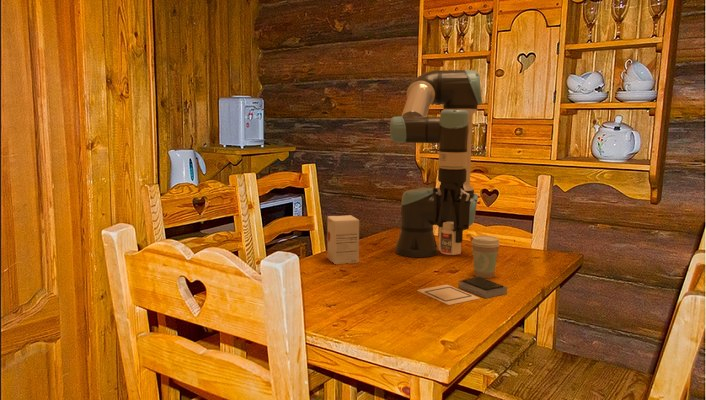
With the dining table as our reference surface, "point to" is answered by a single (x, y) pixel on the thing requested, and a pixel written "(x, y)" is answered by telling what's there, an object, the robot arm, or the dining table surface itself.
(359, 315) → the dining table surface
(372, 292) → the dining table surface
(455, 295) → the print card
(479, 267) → the coffee cup
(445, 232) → the pill bottle
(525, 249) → the dining table surface
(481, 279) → the ink pad
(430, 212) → the robot arm
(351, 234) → the supplement box
